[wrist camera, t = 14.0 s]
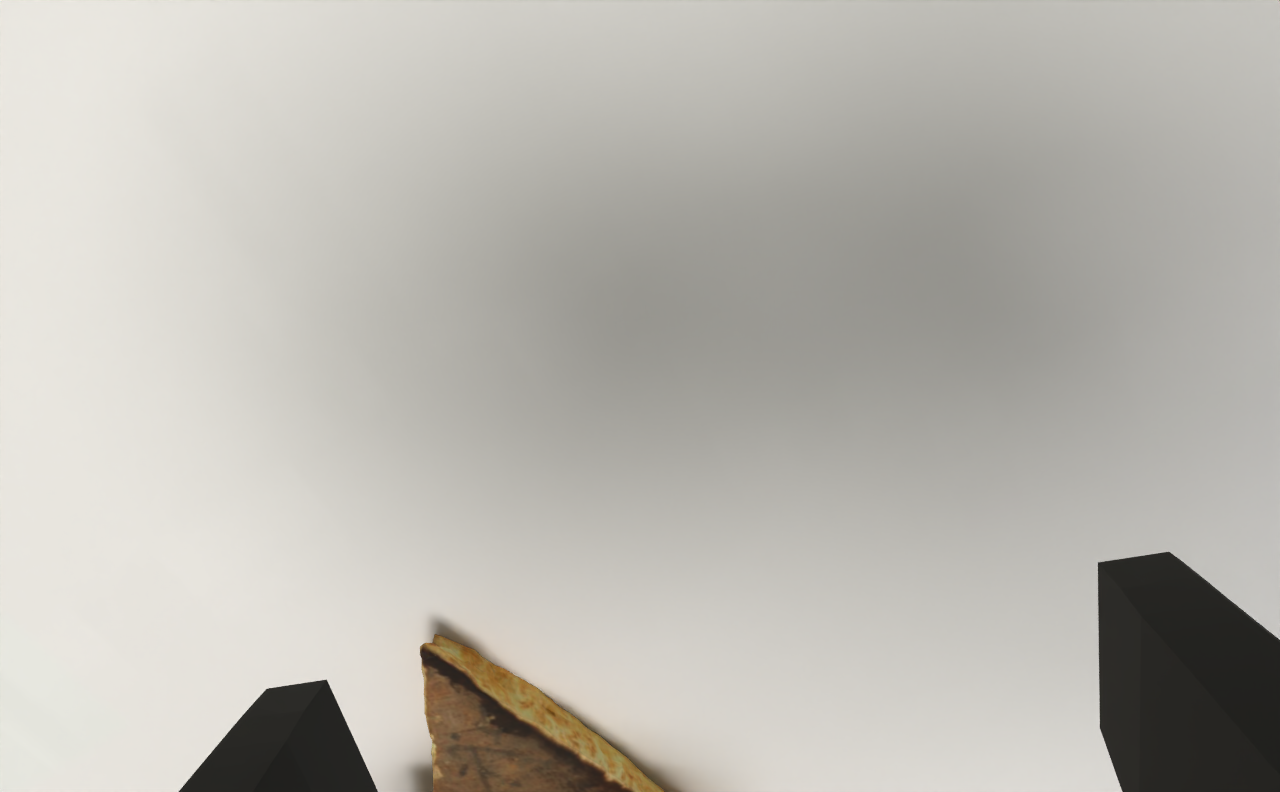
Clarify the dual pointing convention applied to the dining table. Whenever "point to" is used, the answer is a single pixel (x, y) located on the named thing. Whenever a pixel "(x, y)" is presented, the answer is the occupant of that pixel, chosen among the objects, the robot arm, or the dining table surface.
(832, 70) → the dining table surface
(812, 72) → the dining table surface
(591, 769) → the shard
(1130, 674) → the robot arm
